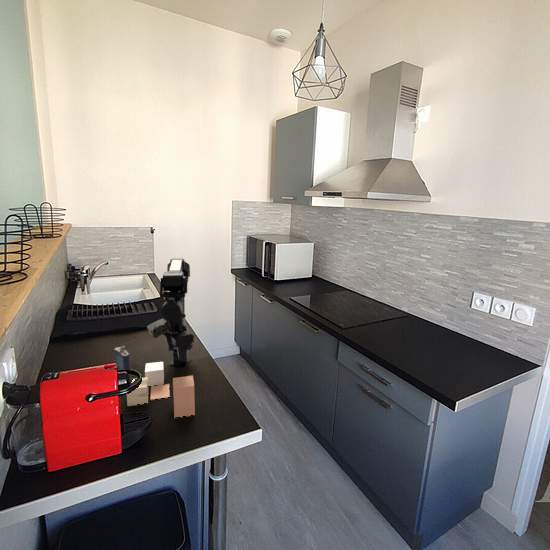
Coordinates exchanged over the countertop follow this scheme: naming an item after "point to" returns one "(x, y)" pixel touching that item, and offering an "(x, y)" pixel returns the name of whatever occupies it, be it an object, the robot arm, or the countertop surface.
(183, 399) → the terracotta block
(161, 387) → the colour card
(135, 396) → the birch block
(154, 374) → the white block
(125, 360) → the flask
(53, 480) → the countertop surface
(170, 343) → the robot arm
